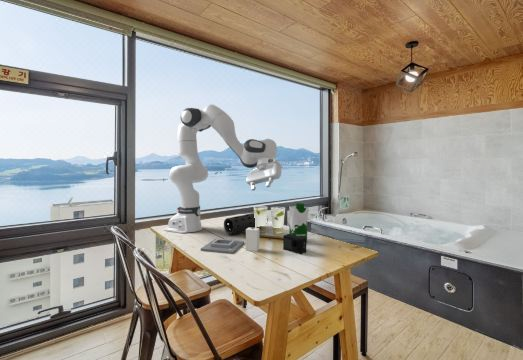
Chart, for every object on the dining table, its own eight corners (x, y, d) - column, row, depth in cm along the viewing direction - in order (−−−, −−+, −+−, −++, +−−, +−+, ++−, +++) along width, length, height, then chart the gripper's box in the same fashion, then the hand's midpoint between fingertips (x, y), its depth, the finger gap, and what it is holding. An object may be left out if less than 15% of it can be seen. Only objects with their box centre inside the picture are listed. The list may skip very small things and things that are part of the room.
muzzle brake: (223, 234, 157) (223, 216, 156) (257, 225, 177) (257, 209, 176) (234, 237, 151) (234, 219, 150) (268, 228, 171) (268, 211, 170)
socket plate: (200, 250, 129) (200, 245, 129) (215, 240, 144) (215, 236, 144) (232, 253, 125) (232, 248, 125) (244, 243, 140) (244, 238, 140)
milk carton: (293, 244, 139) (293, 205, 137) (287, 239, 147) (287, 202, 146) (309, 243, 141) (310, 204, 139) (302, 238, 150) (302, 201, 148)
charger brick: (245, 250, 129) (245, 228, 129) (248, 247, 133) (248, 226, 133) (257, 251, 128) (257, 229, 127) (259, 248, 132) (259, 227, 131)
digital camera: (281, 250, 130) (281, 235, 130) (288, 247, 134) (288, 233, 134) (299, 255, 123) (299, 240, 123) (306, 252, 127) (306, 237, 127)
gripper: (246, 166, 148) (240, 188, 141) (277, 157, 136) (273, 181, 129) (253, 173, 152) (248, 194, 145) (284, 165, 140) (280, 188, 133)
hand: (260, 188), depth 137 cm, fingers open, 8 cm apart
